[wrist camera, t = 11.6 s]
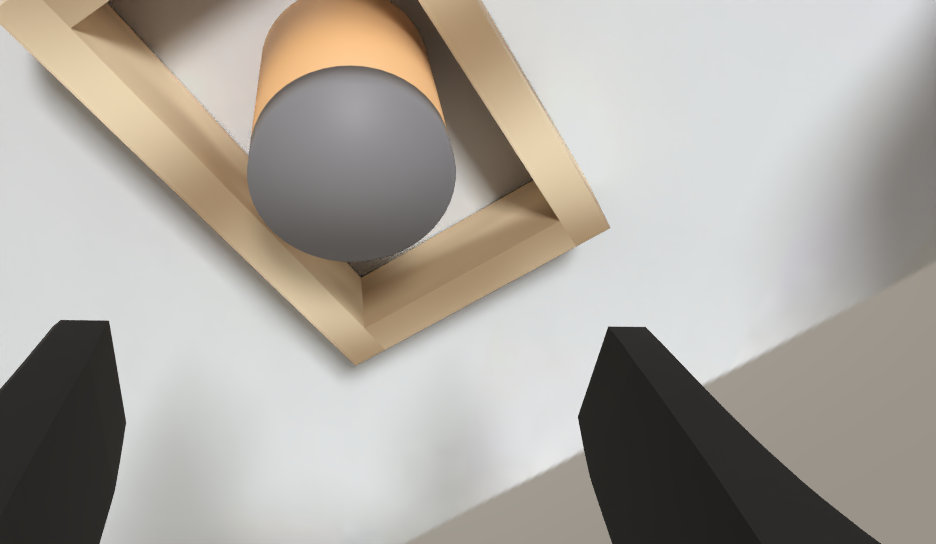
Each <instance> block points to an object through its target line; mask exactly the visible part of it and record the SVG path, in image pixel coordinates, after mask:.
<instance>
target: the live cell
mask: <svg viewBox="0 0 936 544" xmlns="http://www.w3.org/2000/svg"><path fill="white" fill-rule="evenodd" d="M455 180H456V166H455V160H454V154H453V151H452V147H451V143H450V139H449V135H448V131H447V128H446V124H445V120H444V116H443V112H442V109H441V105H440V101H439V97H438V93H437V90H436V86H435V82H434V78H433V74H432V71H431V67H430V63H429V59H428V55H427V52H426V48H425V45H424V42H423V40H422V37H421V35H420V33H419V31H418V30H417V28H416V27H415V25H414V23H413V22H412V21H411V20H410V19H409V18H408V16H407V15H406V14H405V13H404V12H403V11H401V10H400V9H399V8H398V7H397V6H395V5H394V4H392V3H391V2H389V1H388V0H298V1H296V2H295V3H293V4H292V5H291V6H289V7H288V8H287V9H286V10H285V11H284V12H283V13H282V14H281V15H280V16H279V17H278V18H277V20H276V21H275V22H274V24H273V25H272V27H271V29H270V30H269V33H268V35H267V37H266V39H265V43H264V46H263V51H262V58H261V66H260V74H259V81H258V89H257V97H256V104H255V112H254V120H253V127H252V135H251V142H250V150H249V158H248V165H247V182H248V187H249V193H250V196H251V199H252V201H253V204H254V206H255V208H256V210H257V212H258V214H259V215H260V217H261V218H262V220H263V221H264V222H265V224H266V225H267V226H268V227H269V228H270V229H271V230H272V231H273V232H274V233H275V234H276V235H277V236H278V237H280V238H281V239H282V240H283V241H285V242H286V243H288V244H289V245H291V246H293V247H294V248H296V249H298V250H300V251H302V252H305V253H307V254H310V255H313V256H316V257H319V258H323V259H327V260H333V261H341V262H360V261H369V260H375V259H380V258H383V257H387V256H390V255H393V254H395V253H398V252H400V251H403V250H404V249H406V248H408V247H410V246H412V245H413V244H415V243H416V242H418V241H419V240H421V239H422V238H423V237H424V236H425V235H427V234H428V233H429V232H430V231H431V230H432V229H433V228H434V227H435V225H436V224H437V223H438V222H439V221H440V219H441V218H442V216H443V215H444V213H445V212H446V210H447V207H448V205H449V203H450V201H451V198H452V195H453V191H454V186H455Z"/></svg>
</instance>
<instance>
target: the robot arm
mask: <svg viewBox="0 0 936 544" xmlns="http://www.w3.org/2000/svg"><path fill="white" fill-rule="evenodd" d="M578 420H579V425H580V430H581V436H582V441H583V446H584V451H585V456H586V461H587V465H588V470H589V474H590V478H591V481H592V485H593V488H594V491H595V494H596V496H597V500H598V502H599V506H600V508H601V511H602V515H603V517H604V521H605V523H606V526H607V529H608V532H609V535H610V538H611V541H612V544H881V543H879V542H878V541H876V540H875V539H874V538H872V537H871V536H870V535H868V534H867V533H866V532H864V531H863V530H862V529H860V528H859V527H858V526H857V525H855V524H854V523H853V522H852V521H850V520H849V519H848V518H847V517H845V516H844V515H843V514H841V513H840V512H839V511H838V510H836V509H835V508H834V507H833V506H831V505H830V504H829V503H828V502H826V501H825V500H824V499H822V498H821V497H820V496H819V495H818V494H816V493H815V492H814V491H813V490H812V489H810V488H809V487H808V486H807V485H806V484H805V483H803V482H802V481H801V480H800V479H799V478H798V477H797V476H796V475H794V474H793V473H792V472H791V471H790V470H789V469H788V468H787V467H785V466H784V465H783V464H782V463H781V462H780V461H779V460H778V459H777V458H776V457H774V456H773V455H772V454H771V453H770V452H769V451H768V450H767V449H766V448H764V446H762V445H761V444H760V443H759V442H758V441H757V440H756V439H755V438H754V437H753V436H752V435H751V434H750V433H749V432H748V431H747V430H746V429H745V428H744V427H743V426H742V425H741V424H740V423H739V422H737V421H736V420H735V419H734V418H733V417H732V416H731V415H730V414H729V413H728V412H727V411H726V410H725V409H724V408H723V407H722V406H721V404H719V402H717V400H715V398H714V397H713V396H712V395H710V393H709V392H708V391H707V390H706V389H705V388H704V387H703V386H702V385H701V384H700V383H699V382H698V381H697V380H696V379H695V378H694V377H693V376H692V375H691V374H690V372H689V371H688V370H687V369H686V368H685V367H684V366H683V365H682V364H681V363H680V362H679V361H678V360H677V359H676V358H675V357H674V356H673V355H672V354H671V353H670V352H669V350H668V349H667V348H666V347H665V346H664V345H663V344H662V343H661V342H660V341H659V340H658V339H657V338H656V337H655V336H654V335H653V334H652V333H651V332H650V331H649V330H648V329H647V328H646V327H608V329H607V332H606V335H605V338H604V341H603V344H602V347H601V350H600V353H599V356H598V359H597V362H596V365H595V368H594V371H593V374H592V377H591V380H590V383H589V386H588V389H587V392H586V395H585V398H584V400H583V403H582V406H581V409H580V412H579V415H578ZM125 426H126V419H125V413H124V407H123V402H122V396H121V390H120V384H119V378H118V372H117V366H116V360H115V354H114V348H113V342H112V336H111V330H110V324H109V321H88V320H60V321H59V322H58V323H57V324H55V325H54V326H53V327H52V328H51V329H50V331H49V332H48V333H47V334H46V336H45V337H44V338H43V339H42V340H41V342H40V343H39V344H38V345H37V346H36V348H35V349H34V350H33V351H32V352H31V354H30V355H29V356H28V357H27V358H26V360H25V361H24V362H23V363H22V364H21V366H20V367H19V368H18V369H17V370H16V371H15V373H14V374H13V375H12V376H11V377H10V378H9V380H8V381H7V382H6V383H5V384H4V385H3V386H2V388H1V389H0V544H99V543H100V540H101V536H102V533H103V529H104V526H105V523H106V519H107V516H108V512H109V509H110V505H111V502H112V498H113V495H114V491H115V486H116V481H117V475H118V469H119V464H120V458H121V451H122V445H123V438H124V432H125Z"/></svg>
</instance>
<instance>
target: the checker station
mask: <svg viewBox="0 0 936 544" xmlns="http://www.w3.org/2000/svg"><path fill="white" fill-rule="evenodd" d="M108 1H109V0H1V2H0V24H1V25H2V26H3V27H4V28H5V29H6V30H7V31H8V32H9V33H10V34H11V35H12V36H13V37H14V38H15V39H16V40H17V41H18V42H19V43H20V44H21V45H22V46H23V47H24V48H26V49H27V50H28V51H29V52H30V53H31V54H32V55H33V56H34V57H35V58H36V59H37V60H38V61H39V62H40V63H41V64H42V65H43V66H44V67H45V68H46V69H47V70H48V71H49V72H50V73H52V74H53V75H54V76H55V77H56V78H57V79H58V80H59V81H60V82H61V83H62V84H63V85H64V86H65V87H66V88H67V89H68V90H69V91H70V92H71V93H72V94H73V95H74V96H75V97H77V98H78V99H79V100H80V101H81V102H82V103H83V104H84V105H85V106H86V107H87V108H88V109H89V110H90V111H91V112H92V113H93V114H94V115H95V116H96V117H97V118H98V119H99V120H100V121H101V122H103V123H104V124H105V125H106V126H107V127H108V128H109V129H110V130H111V131H112V132H113V133H114V134H115V135H116V136H117V137H118V138H119V139H120V140H121V141H122V142H123V143H124V144H125V145H126V146H127V147H129V148H130V149H131V150H132V151H133V152H134V153H135V154H136V155H137V156H138V157H139V158H140V159H141V160H142V161H143V162H144V163H145V164H146V165H147V166H148V167H149V168H150V169H151V170H152V171H154V172H155V173H156V174H157V175H158V176H159V177H160V178H161V179H162V180H163V181H164V182H165V183H166V184H167V185H168V186H169V187H170V188H171V189H172V190H173V191H174V192H175V193H176V194H177V195H178V196H180V197H181V198H182V199H183V200H184V201H185V202H186V203H187V204H188V205H189V206H190V207H191V208H192V209H193V210H194V211H195V212H196V213H197V214H198V215H199V216H200V217H201V218H202V219H203V220H204V221H206V222H207V223H208V224H209V225H210V226H211V227H212V228H213V229H214V230H215V231H216V232H217V233H218V234H219V235H220V236H221V237H222V238H223V239H224V240H225V241H226V242H227V243H228V244H229V245H230V246H232V247H233V248H234V249H235V250H236V251H237V252H238V253H239V254H240V255H241V256H242V257H243V258H244V259H245V260H246V261H247V262H248V263H249V264H250V265H251V266H252V267H253V268H254V269H255V270H257V271H258V272H259V273H260V274H261V275H262V276H263V277H264V278H265V279H266V280H267V281H268V282H269V283H270V284H271V285H272V286H273V287H274V288H275V289H276V290H277V291H278V292H279V293H280V294H281V295H283V296H284V297H285V298H286V299H287V300H288V301H289V302H290V303H291V304H292V305H293V306H294V307H295V308H296V309H297V310H298V311H299V312H300V313H301V314H302V315H303V316H304V317H305V318H306V319H307V320H309V321H310V322H311V323H312V324H313V325H314V326H315V327H316V328H317V329H318V330H319V331H320V332H321V333H322V334H323V335H324V336H325V337H326V338H327V339H328V340H329V341H330V342H331V343H332V344H334V345H335V346H336V347H337V348H338V349H339V350H340V351H341V352H342V353H343V354H344V355H345V356H346V357H347V358H348V359H349V360H350V361H351V362H352V363H353V364H354V365H355V366H356V365H358V364H360V363H362V362H363V361H365V360H367V359H369V358H371V357H373V356H374V355H376V354H378V353H380V352H382V351H384V350H386V349H387V348H389V347H391V346H393V345H395V344H397V343H399V342H400V341H402V340H404V339H406V338H408V337H410V336H411V335H413V334H415V333H417V332H419V331H421V330H423V329H424V328H426V327H428V326H430V325H432V324H434V323H435V322H437V321H439V320H441V319H443V318H445V317H447V316H448V315H450V314H452V313H454V312H456V311H458V310H460V309H461V308H463V307H465V306H467V305H469V304H471V303H472V302H474V301H476V300H478V299H480V298H482V297H484V296H485V295H487V294H489V293H491V292H493V291H495V290H497V289H498V288H500V287H502V286H504V285H506V284H508V283H509V282H511V281H513V280H515V279H517V278H519V277H521V276H522V275H524V274H526V273H528V272H530V271H532V270H534V269H535V268H537V267H539V266H541V265H543V264H545V263H546V262H548V261H550V260H552V259H554V258H556V257H558V256H559V255H561V254H563V253H565V252H567V251H569V250H571V249H572V248H574V247H576V246H578V245H580V244H582V243H583V242H585V241H587V240H589V239H591V238H593V237H595V236H596V235H598V234H600V233H602V232H604V231H606V230H607V229H609V228H610V226H609V224H608V222H607V220H606V218H605V216H604V214H603V212H602V210H601V208H600V206H599V204H598V202H597V200H596V198H595V196H594V194H593V192H592V190H591V188H590V186H589V184H588V182H587V180H586V178H585V177H584V175H583V173H582V171H581V170H580V168H579V166H578V165H577V163H576V161H575V160H574V158H573V156H572V154H571V153H570V151H569V149H568V148H567V146H566V144H565V142H564V141H563V139H562V137H561V136H560V134H559V132H558V131H557V129H556V127H555V125H554V124H553V122H552V120H551V119H550V117H549V115H548V113H547V112H546V110H545V108H544V107H543V105H542V103H541V101H540V100H539V98H538V96H537V95H536V93H535V91H534V90H533V88H532V86H531V84H530V83H529V81H528V79H527V78H526V76H525V74H524V72H523V71H522V69H521V67H520V66H519V64H518V62H517V61H516V59H515V57H514V55H513V54H512V52H511V50H510V49H509V47H508V45H507V43H506V42H505V40H504V38H503V37H502V35H501V33H500V31H499V30H498V28H497V26H496V25H495V23H494V21H493V20H492V18H491V16H490V14H489V13H488V11H487V9H486V8H485V6H484V4H483V2H482V1H481V0H418V1H419V3H420V4H421V6H422V7H423V9H424V10H425V12H426V13H427V15H428V17H429V18H430V20H431V21H432V23H433V24H434V26H435V27H436V29H437V31H438V32H439V34H440V35H441V37H442V38H443V40H444V41H445V43H446V45H447V46H448V48H449V49H450V51H451V52H452V54H453V55H454V57H455V59H456V60H457V62H458V63H459V65H460V66H461V68H462V69H463V71H464V73H465V74H466V76H467V77H468V79H469V80H470V82H471V83H472V85H473V87H474V88H475V90H476V91H477V93H478V94H479V96H480V97H481V99H482V101H483V102H484V104H485V105H486V107H487V108H488V110H489V111H490V113H491V115H492V116H493V118H494V119H495V121H496V122H497V124H498V125H499V127H500V129H501V130H502V132H503V133H504V135H505V136H506V138H507V139H508V141H509V143H510V144H511V146H512V147H513V149H514V150H515V152H516V153H517V155H518V157H519V158H520V160H521V161H522V163H523V164H524V166H525V167H526V169H527V171H528V172H529V174H530V175H531V177H532V178H533V180H532V181H531V182H529V183H527V184H525V185H524V186H522V187H520V188H518V189H516V190H515V191H513V192H511V193H509V194H508V195H506V196H504V197H502V198H501V199H499V200H497V201H495V202H494V203H492V204H490V205H488V206H487V207H485V208H483V209H481V210H480V211H478V212H476V213H474V214H473V215H471V216H469V217H467V218H465V219H464V220H462V221H460V222H458V223H457V224H455V225H453V226H451V227H450V228H448V229H446V230H444V231H443V232H441V233H439V234H437V235H436V236H434V237H432V238H430V239H429V240H427V241H425V242H423V243H421V244H420V245H418V246H416V247H414V248H413V249H411V250H409V251H407V252H406V253H404V254H402V255H400V256H399V257H397V258H395V259H393V260H392V261H390V262H388V263H386V264H385V265H383V266H381V267H379V268H378V269H376V270H374V271H372V272H370V273H369V274H367V275H365V276H363V277H362V278H361V277H360V276H359V275H358V274H357V273H356V272H355V271H354V270H353V268H352V267H351V266H350V265H349V264H348V263H347V262H341V261H333V260H327V259H323V258H319V257H316V256H313V255H310V254H307V253H305V252H302V251H300V250H298V249H296V248H294V247H293V246H291V245H289V244H288V243H286V242H285V241H283V240H282V239H281V238H280V237H278V236H277V235H276V234H275V233H274V232H273V231H272V230H271V229H270V228H269V227H268V226H267V225H266V224H265V222H264V221H263V220H262V218H261V217H260V215H259V214H258V212H257V210H256V208H255V206H254V204H253V201H252V199H251V196H250V193H249V187H248V182H247V165H248V158H249V156H248V155H247V154H246V153H245V152H244V151H243V149H242V148H241V147H240V146H239V145H238V144H237V143H236V142H235V141H234V140H233V139H232V138H231V136H230V135H229V134H228V133H227V132H226V131H225V130H224V129H223V128H222V127H221V126H220V125H219V123H218V122H217V121H216V120H215V119H214V118H213V117H212V116H211V115H210V114H209V113H208V112H207V110H206V109H205V108H204V107H203V106H202V105H201V104H200V103H199V102H198V101H197V100H196V99H195V98H194V96H193V95H192V94H191V93H190V92H189V91H188V90H187V89H186V88H185V87H184V86H183V85H182V83H181V82H180V81H179V80H178V79H177V78H176V77H175V76H174V75H173V74H172V73H171V72H170V70H169V69H168V68H167V67H166V66H165V65H164V64H163V63H162V62H161V61H160V60H159V59H158V57H157V56H156V55H155V54H154V53H153V52H152V51H151V50H150V49H149V48H148V47H147V46H146V44H145V43H144V42H143V41H142V40H141V39H140V38H139V37H138V36H137V35H136V34H135V33H134V32H133V30H132V29H131V28H130V27H129V26H128V25H127V24H126V23H125V22H124V21H123V20H122V19H121V17H120V16H119V15H118V14H117V13H116V12H115V11H114V10H113V9H112V8H111V7H110V6H109V4H108V3H107V2H108Z"/></svg>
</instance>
